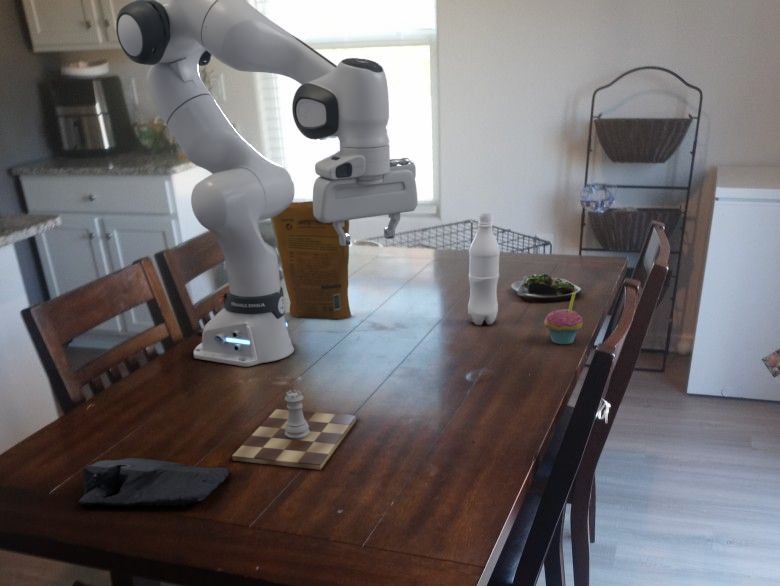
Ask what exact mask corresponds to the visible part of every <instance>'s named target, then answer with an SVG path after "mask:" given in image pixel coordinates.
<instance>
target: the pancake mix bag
mask: <svg viewBox="0 0 780 586" xmlns="http://www.w3.org/2000/svg"><path fill="white" fill-rule="evenodd" d="M269 219H270V223H271V226H272V230H273V231H272V232H273V236H274V241H275V247H276V251H277V255H278V260H279V263H280V266H281V271H282V275H283V279H284V284H285V288H286V292H287V296H288V299H289V314H290V315H291V316H293V317H295V318H300V319H301V318H302V319H325V320H344V319H347V318H350V317H352V313H351V309H350V300H349V261H350V260H349V259H350V245H346V246H342V245H340V243H339V235H338V233H337V232H336V230H335V228H334V227H333V222H331V223H323V222H320V221H318V220H317V219H316V218H315V216H314V214H313V200H310V201H300V202H299V201H298V202H297V201H295V202H294V201H292V203H291V205H290V206H289V207H288V208H286V209H285V210H284V211H283V212H281V213H280V214H278V215H277V216H275V217H272V218H269ZM342 229H343V231H344V232H345V234H348V235H350V220H345V221H344V227H342Z"/></svg>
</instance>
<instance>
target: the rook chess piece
mask: <svg viewBox="0 0 780 586" xmlns="http://www.w3.org/2000/svg"><path fill="white" fill-rule="evenodd" d="M284 400H285V402H287V405H286V408H287V410H288V421H287V424H286V426H285V430H286V431H285V435H286V436H287V437H288V438H291V439H302V438H305V437H306V436H308V434H309V432H310V431H309V429H308V428H309V425H308V423H307V422H306V420H305V419H304V416H303V412H302V411H303V406H304V404H303V403H302V401H303V400H304V396H303V395H302V392H301V391H300V390H297V389H294V390H293V391H292V390H288V391H286V394H285V397H284Z"/></svg>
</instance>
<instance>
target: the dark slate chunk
mask: <svg viewBox="0 0 780 586" xmlns="http://www.w3.org/2000/svg"><path fill="white" fill-rule="evenodd" d="M229 471H230V469H229V468H227V467H204V466H203V467H201V466H194V465H188V464H184V463H179V462H171V461H165V460H157V459H147V458H133V457H126V458H125V457H124V458H122V459H116V460H112V459H110V460H108V459H107V460H98V461H96V462H94V463H93V464H88V465H87V466H85V467H83V468H82V476H83V495H82V497H81V498H80V499H79V500H78V503H79V504H81V505H85V506H93V505H103V506H106V507H109V506H112V507H118V506H119V507H129V508H130V507H134V506H146V507H150V506H151V507H152V506H155V507H160V506H174V507H175V506H182V507H185V506H186V505H190V504H195V503H201V502H203V501H204V500H205V499H206V498H207V497H208V496H209V495H210V494H212V492H213V491H214V490H216V489H217V488H218V486H220V485H222V484H223V483H224V482H225V480H226V479H227V478H228V477H229V474H230V472H229ZM118 489H119V492H118V493H116V494H114V493H115V491H117V490H118ZM113 494H114V495H113Z"/></svg>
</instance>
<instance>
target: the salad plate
mask: <svg viewBox="0 0 780 586" xmlns="http://www.w3.org/2000/svg"><path fill="white" fill-rule="evenodd" d="M511 288H512V290H513V291H514V292H516V294H517V296H518V297H521V298H522V299H523V300H525V301H527V302H530V303H531V302H532V303H539V304H541V303H542V304H544V303H558V302H566V301H571V298H572V294H573V292H574V291H575V289H576V291H575V293H576V294H575V298H574V299H576V298H577V297H578V296H579V295H580V294H581V292H582V288H581V287H580V286H578V285H575V284H574V283H572V282H571V281H569V280H568V279H565V278H559V277H551V276H550V275H549V274H547V273H543V274H540V275H537V274H536V273H533V274H532V275H531V276H530V275H525V276H523V278H522V280H519V281H515V282H513V283H511Z"/></svg>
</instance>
